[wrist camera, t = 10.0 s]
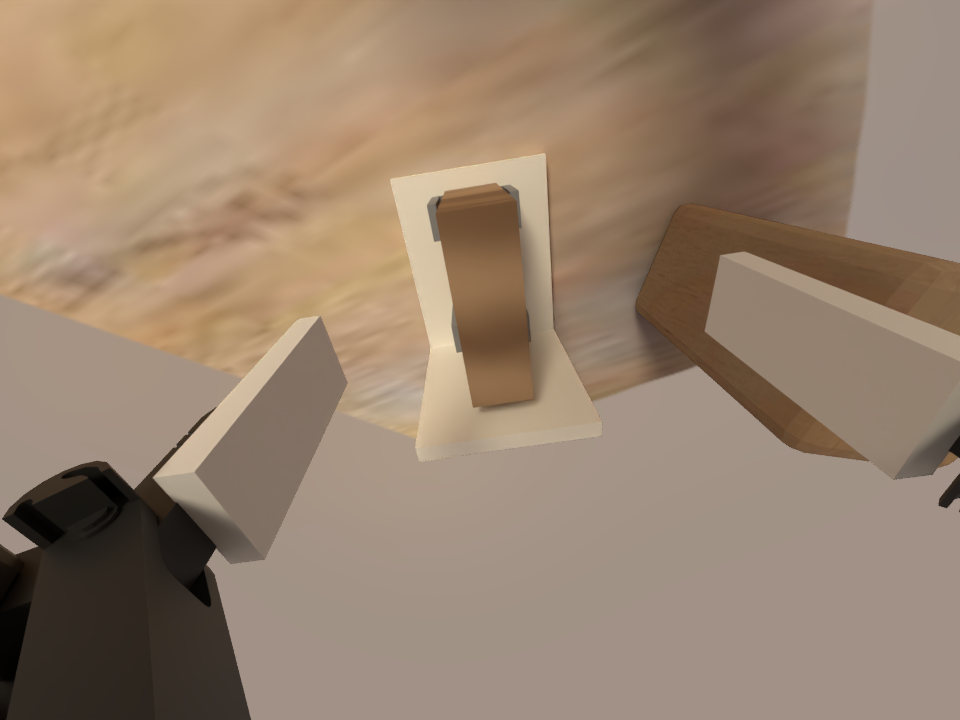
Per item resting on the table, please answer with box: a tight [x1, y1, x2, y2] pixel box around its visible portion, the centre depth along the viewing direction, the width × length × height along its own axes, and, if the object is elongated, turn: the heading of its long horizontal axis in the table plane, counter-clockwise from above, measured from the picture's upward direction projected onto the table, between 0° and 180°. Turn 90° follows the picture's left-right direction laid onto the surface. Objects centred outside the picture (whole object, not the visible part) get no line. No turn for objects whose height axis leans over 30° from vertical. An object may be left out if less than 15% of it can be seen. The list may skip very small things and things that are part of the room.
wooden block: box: [636, 204, 960, 468], centre depth 25 cm, size 10×10×20 cm
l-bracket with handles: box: [390, 154, 602, 462], centre depth 26 cm, size 16×12×15 cm
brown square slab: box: [436, 183, 534, 408], centre depth 26 cm, size 12×4×12 cm, turn 8°
